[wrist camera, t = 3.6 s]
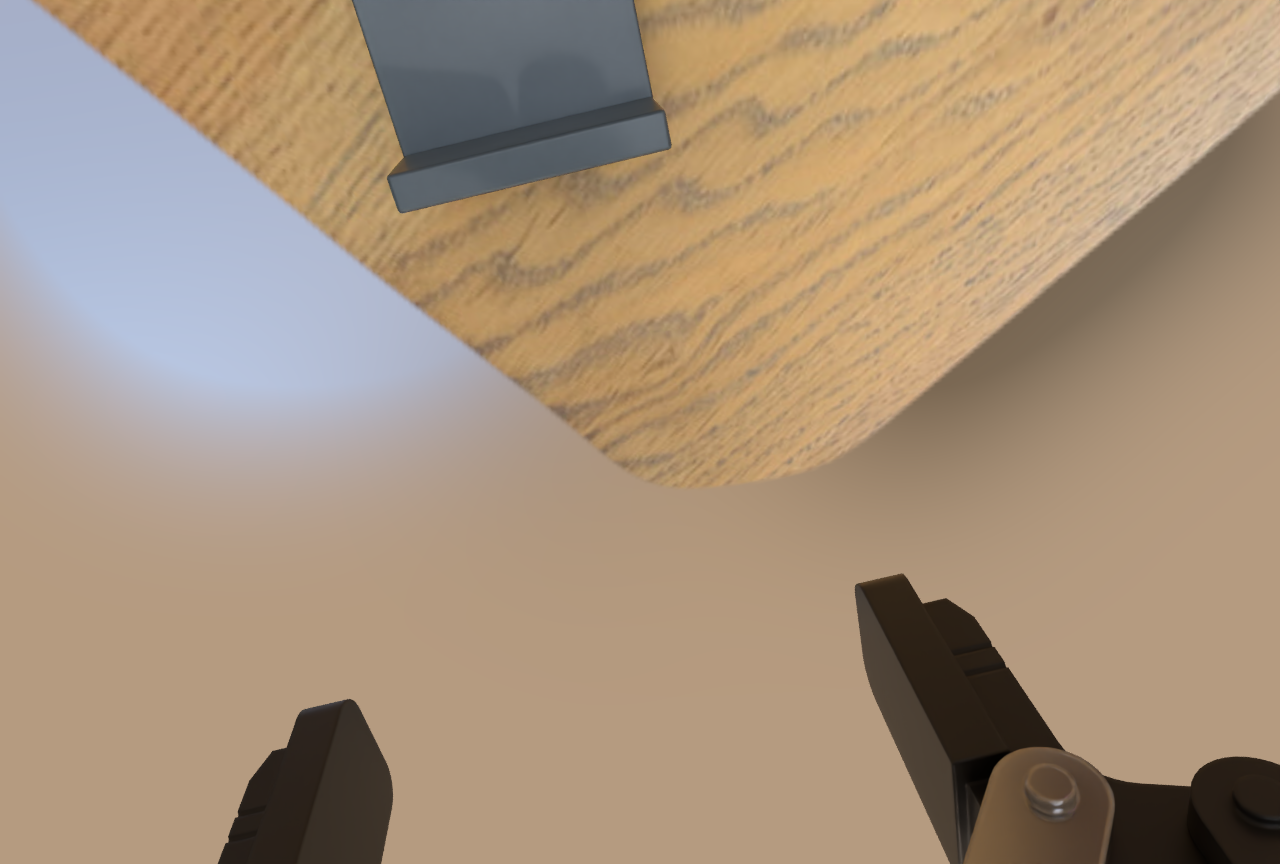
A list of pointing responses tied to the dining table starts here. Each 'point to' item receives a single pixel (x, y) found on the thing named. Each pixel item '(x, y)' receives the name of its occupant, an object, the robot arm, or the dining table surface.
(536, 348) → the dining table surface
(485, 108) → the chair
